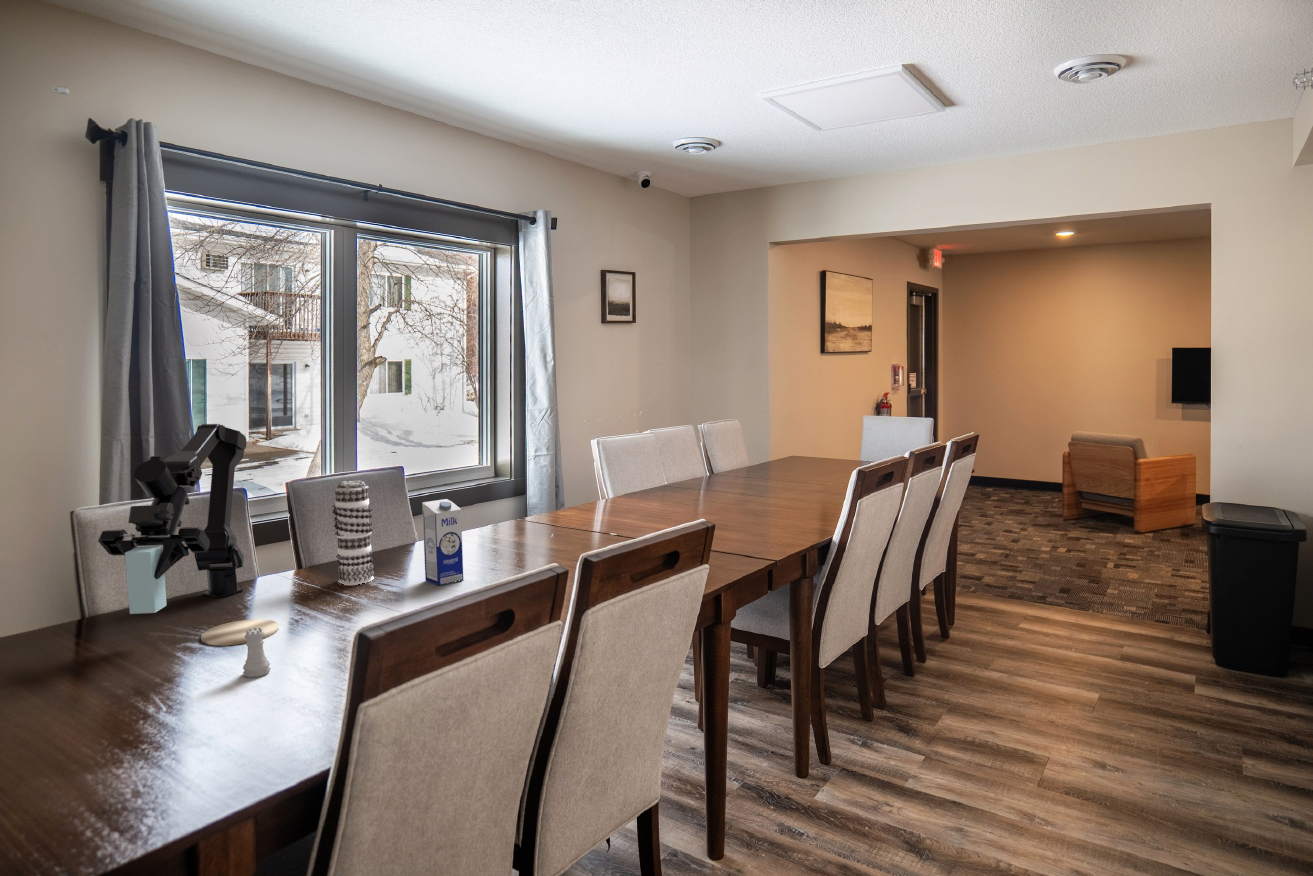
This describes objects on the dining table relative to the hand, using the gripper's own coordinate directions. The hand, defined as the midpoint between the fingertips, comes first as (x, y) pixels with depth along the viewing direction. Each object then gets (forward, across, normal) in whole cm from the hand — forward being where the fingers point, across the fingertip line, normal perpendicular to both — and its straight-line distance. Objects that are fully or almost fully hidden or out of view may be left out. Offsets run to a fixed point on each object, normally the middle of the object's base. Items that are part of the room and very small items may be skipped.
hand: (142, 578), depth 157 cm
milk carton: (-18, +51, +37) cm, 66 cm away
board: (+6, +15, +13) cm, 21 cm away
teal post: (+4, 0, +6) cm, 7 cm away
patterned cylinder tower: (-20, +29, +39) cm, 53 cm away
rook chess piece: (+22, +26, -3) cm, 35 cm away
